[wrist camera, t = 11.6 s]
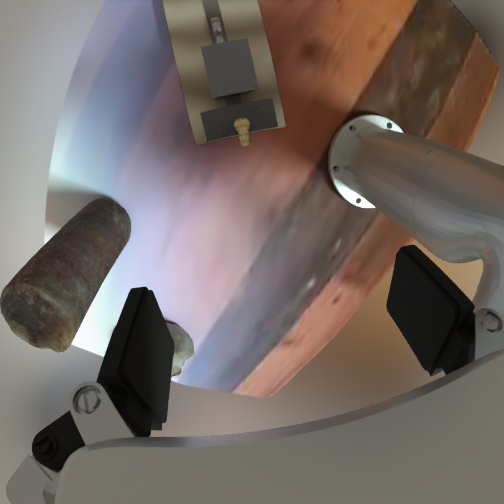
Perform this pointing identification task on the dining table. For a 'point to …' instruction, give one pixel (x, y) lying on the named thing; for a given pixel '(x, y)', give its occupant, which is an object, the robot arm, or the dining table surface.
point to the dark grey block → (228, 65)
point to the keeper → (239, 120)
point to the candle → (65, 276)
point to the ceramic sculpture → (180, 347)
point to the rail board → (201, 34)
